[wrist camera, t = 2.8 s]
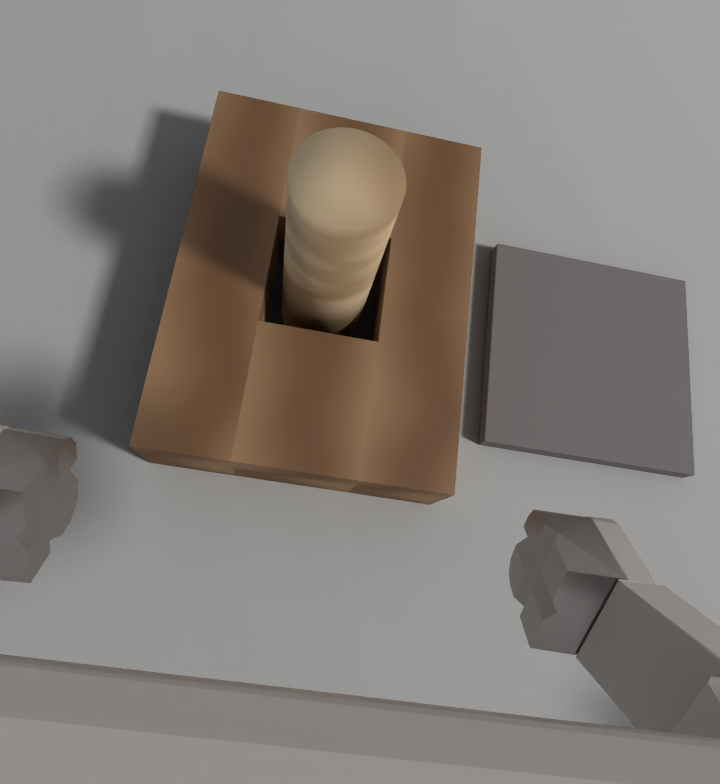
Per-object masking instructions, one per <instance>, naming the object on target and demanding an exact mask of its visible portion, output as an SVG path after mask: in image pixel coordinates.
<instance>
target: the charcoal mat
mask: <svg viewBox="0 0 720 784" xmlns="http://www.w3.org/2000/svg"><path fill="white" fill-rule="evenodd" d="M479 445H485V446H491V447H497V448H503V449H510V450H516V451H522V452H528V453H534V454H540V455H546V456H553V457H559V458H565V459H571V460H577V461H583V462H590V463H596V464H602V465H608V466H614V467H620V468H627V469H633V470H639V471H645V472H651V473H657V474H664V475H670V476H676V477H682V478H683V477H688V476H692V475H694V457H693V436H692V415H691V394H690V373H689V352H688V330H687V309H686V288H685V281H681V280H676V279H671V278H666V277H661V276H656V275H652V274H647V273H642V272H637V271H632V270H627V269H622V268H617V267H612V266H607V265H602V264H597V263H592V262H587V261H582V260H577V259H572V258H567V257H562V256H557V255H552V254H547V253H542V252H537V251H532V250H527V249H522V248H517V247H512V246H507V245H502V244H497V245H496V246H495V248H494V249H493V251H492V254H491V269H490V284H489V299H488V314H487V329H486V344H485V358H484V373H483V388H482V403H481V418H480V433H479Z"/></svg>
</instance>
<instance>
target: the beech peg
mask: <svg viewBox="0 0 720 784" xmlns="http://www.w3.org/2000/svg"><path fill="white" fill-rule="evenodd" d="M405 192H406V175H405V171H404V168H403V165H402V163H401V161H400V159H399V158H398V156H397V155H396V153H395V152H394V151H393V150H392V149H391V148H390V147H389V146H388V145H387V144H386V143H385V142H384V141H382V140H381V139H379V138H378V137H376V136H374V135H372V134H370V133H367V132H365V131H362V130H358V129H354V128H346V127H337V128H329V129H325V130H321V131H318V132H316V133H314V134H312V135H310V136H309V137H307V138H306V139H305V140H303V141H302V142H301V143H300V144H299V146H298V147H297V148H296V150H295V151H294V153H293V155H292V157H291V160H290V163H289V170H288V188H287V208H286V228H285V248H284V268H283V288H282V308H281V315H282V321H283V324H284V325H286V326H291V327H297V328H303V329H308V330H314V331H320V332H325V333H331V334H336V335H342V336H348V337H351V336H352V335H353V333H354V331H355V330H356V327H357V324H358V322H359V319H360V316H361V314H362V311H363V308H364V305H365V303H366V300H367V297H368V294H369V292H370V289H371V286H372V284H373V281H374V278H375V275H376V273H377V270H378V267H379V264H380V262H381V259H382V256H383V254H384V251H385V248H386V245H387V243H388V240H389V237H390V234H391V232H392V229H393V226H394V224H395V221H396V218H397V215H398V213H399V210H400V207H401V204H402V202H403V199H404V196H405Z"/></svg>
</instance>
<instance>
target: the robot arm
mask: <svg viewBox="0 0 720 784" xmlns="http://www.w3.org/2000/svg"><path fill="white" fill-rule="evenodd" d="M76 459H77V455H76V442H75V441H74V440H73V439H72V438H71V437H66V436H60V435H55V434H49V433H43V432H38V431H32V430H26V429H21V428H15V427H8V426H3V425H0V580H7V581H17V582H27V583H31V581H32V580H33V578H34V577H35V575H36V574H37V572H38V571H39V569H40V567H41V566H42V564H43V563H44V561H45V560H46V558H47V557H48V555H49V554H50V541H49V540H51V539H53V538H55V537H57V536H59V535H61V534H63V532H64V530H65V529H66V527H67V526H68V524H69V522H70V520H71V517H72V514H73V512H74V509H75V506H76V500H77V493H78V481H77V479H76V478H75V476H74V475H73V474H72V473H71V471H70V470H69V469H70V468H71V466H72V465H73V463H74V462H75V461H76ZM524 528H525V531H526V534H527V536H528V537H527V538H525V539H524V540H522V541H521V542H519V543H518V544H517V545H516V546H515V549H514V551H513V554H512V557H511V560H510V569H509V578H510V586H511V589H512V593H513V596H514V597H515V598H516V599H517V600H518V601H519V602H520V603H521V604H522V605H523V606H524V608H523V610H522V612H521V615H520V618H521V622H522V625H523V628H524V631H525V634H526V637H527V640H528V643H529V646H530V648H535V649H541V650H548V651H554V652H560V653H567V654H573V655H577V656H576V658H577V659H578V660H579V661H580V663H581V664H582V665H583V666H584V667H585V668H586V669H587V671H588V672H589V673H590V674H591V675H592V676H593V678H594V679H595V680H596V681H597V682H598V683H599V685H600V686H601V687H602V688H603V689H604V690H605V692H606V693H607V694H608V695H609V696H610V697H611V699H612V700H613V701H614V702H615V703H616V704H617V705H618V707H619V708H620V709H621V710H622V711H623V712H624V714H625V715H626V716H627V717H628V718H629V719H630V721H631V722H632V723H633V724H634V725H635V726H636V728H637V729H636V728H627V727H618V726H609V725H601V724H592V723H583V722H574V721H565V720H557V719H548V718H539V717H531V716H523V715H514V714H506V713H497V712H489V711H481V710H472V709H464V708H456V707H447V706H439V705H430V704H422V703H414V702H405V701H397V700H389V699H380V698H372V697H363V696H355V695H346V694H337V693H329V692H320V691H312V690H303V689H294V688H286V687H277V686H269V685H260V684H251V683H243V682H234V681H226V680H217V679H208V678H200V677H191V676H183V675H174V674H166V673H157V672H148V671H140V670H131V669H123V668H114V667H106V666H97V665H89V664H80V663H72V662H63V661H55V660H46V659H37V658H29V657H20V656H12V655H3V654H0V784H720V627H719V626H718V625H716V624H715V623H714V622H712V621H711V620H710V619H708V618H707V617H706V616H704V615H703V614H702V613H700V612H699V611H698V610H696V609H695V608H693V607H692V606H691V605H689V604H688V603H687V602H685V601H684V600H683V599H681V598H680V597H679V596H677V595H676V594H675V593H673V592H672V591H671V590H669V589H668V588H667V587H665V586H663V585H656V584H655V582H654V581H653V579H652V577H651V576H650V574H649V572H648V571H647V569H646V568H645V566H644V564H643V563H642V561H641V559H640V558H639V556H638V554H637V553H636V551H635V550H634V548H633V546H632V545H631V543H630V541H629V540H628V538H627V537H626V535H625V533H624V532H623V530H622V528H621V527H620V525H619V524H618V523H617V522H615V521H614V520H611V519H603V518H595V517H581V516H575V515H568V514H561V513H554V512H547V511H540V510H533V511H532V512H531V513H530V515H529V516H528V518H527V520H526V522H525V525H524Z"/></svg>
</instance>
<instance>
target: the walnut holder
mask: <svg viewBox="0 0 720 784" xmlns="http://www.w3.org/2000/svg"><path fill="white" fill-rule="evenodd" d="M337 127H346V128H354V129H358V130H362V131H365V132H367V133H370V134H372V135H374V136H376V137H378V138H379V139H381V140H382V141H384V142H385V143H386V144H387V145H388V146H389V147H390V148H391V149H392V150H393V151H394V152H395V153H396V155H397V156H398V158H399V159H400V161H401V163H402V165H403V168H404V171H405V175H406V192H405V196H404V199H403V202H402V204H401V207H400V210H399V213H398V215H397V218H396V221H395V224H394V226H393V229H392V232H391V234H390V237H389V240H388V243H387V245H386V248H385V251H384V254H383V256H382V259H381V262H380V264H379V267H378V270H377V273H376V275H375V277H377V281H376V289H375V296H374V304H373V311H372V319H371V326H370V334H369V340H364V339H359V338H353V337H348V336H342V335H336V334H331V333H325V332H320V331H314V330H308V329H303V328H297V327H291V326H286V325H280V324H275V323H269V322H265V321H266V316H267V311H268V306H269V301H270V296H271V290H272V285H273V280H274V275H275V270H276V265H277V259H278V258H280V259H284V248H285V228H286V208H287V188H288V170H289V163H290V160H291V157H292V155H293V153H294V151H295V150H296V148H297V147H298V146H299V144H300V143H301V142H302V141H303V140H305V139H306V138H307V137H309V136H310V135H312V134H314V133H316V132H318V131H321V130H325V129H329V128H337ZM480 160H481V148H480V147H475V146H471V145H466V144H461V143H457V142H452V141H448V140H443V139H438V138H434V137H429V136H425V135H420V134H415V133H411V132H406V131H402V130H397V129H392V128H388V127H383V126H379V125H374V124H369V123H365V122H360V121H356V120H351V119H347V118H342V117H337V116H333V115H328V114H324V113H319V112H314V111H310V110H305V109H301V108H296V107H291V106H287V105H282V104H278V103H273V102H268V101H264V100H259V99H255V98H250V97H246V96H241V95H236V94H232V93H227V92H223V91H219V92H218V96H217V100H216V104H215V108H214V112H213V116H212V120H211V124H210V128H209V132H208V136H207V139H206V143H205V147H204V151H203V155H202V159H201V163H200V167H199V171H198V175H197V179H196V183H195V187H194V191H193V195H192V199H191V202H190V206H189V210H188V214H187V218H186V222H185V226H184V230H183V234H182V238H181V242H180V246H179V250H178V254H177V258H176V262H175V265H174V269H173V273H172V277H171V281H170V285H169V289H168V293H167V297H166V301H165V305H164V309H163V313H162V317H161V321H160V325H159V328H158V332H157V336H156V340H155V344H154V348H153V352H152V356H151V360H150V364H149V368H148V372H147V376H146V380H145V384H144V388H143V391H142V395H141V399H140V403H139V407H138V411H137V415H136V419H135V423H134V427H133V431H132V435H131V439H130V443H129V446H130V447H131V448H132V449H133V450H134V451H136V452H137V453H138V454H139V455H140V456H141V457H142V458H144V459H145V460H146V461H147V462H149V463H156V464H163V465H169V466H176V467H183V468H189V469H196V470H203V471H209V472H216V473H223V474H229V475H236V476H243V477H249V478H256V479H263V480H269V481H276V482H283V483H289V484H296V485H303V486H309V487H316V488H323V489H329V490H336V491H343V492H349V493H356V494H363V495H370V496H376V497H383V498H390V499H396V500H403V501H410V502H416V503H423V504H433V503H435V502H438V501H440V500H443V499H446V498H448V497H451V496H453V495H454V493H455V480H456V467H457V454H458V442H459V429H460V416H461V403H462V390H463V378H464V365H465V352H466V339H467V326H468V313H469V301H470V288H471V275H472V262H473V249H474V236H475V224H476V211H477V198H478V185H479V172H480Z"/></svg>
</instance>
